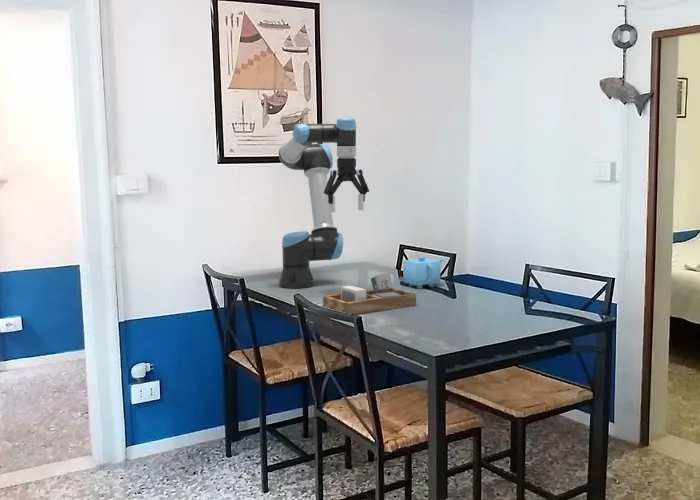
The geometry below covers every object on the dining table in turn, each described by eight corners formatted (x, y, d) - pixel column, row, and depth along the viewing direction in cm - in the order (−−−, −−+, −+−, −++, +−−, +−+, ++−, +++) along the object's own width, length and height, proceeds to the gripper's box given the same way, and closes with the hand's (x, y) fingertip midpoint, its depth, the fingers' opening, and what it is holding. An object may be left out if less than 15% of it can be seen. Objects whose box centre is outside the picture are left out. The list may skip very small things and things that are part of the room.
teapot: (419, 290, 321) (419, 260, 319) (400, 284, 335) (400, 255, 333) (454, 286, 329) (455, 256, 328) (434, 280, 343) (434, 252, 341)
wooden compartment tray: (322, 308, 287) (322, 296, 286) (390, 298, 305) (390, 286, 304) (346, 316, 274) (346, 303, 273) (416, 305, 292) (416, 292, 291)
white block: (340, 307, 288) (340, 286, 286) (350, 306, 290) (350, 285, 289) (355, 312, 279) (355, 290, 278) (366, 310, 282) (366, 289, 281)
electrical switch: (381, 298, 306) (379, 275, 305) (370, 297, 309) (369, 275, 308) (394, 294, 313) (392, 272, 312) (384, 294, 316) (382, 272, 316)
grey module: (370, 304, 295) (370, 293, 294) (393, 302, 299) (393, 291, 298) (381, 309, 287) (381, 297, 286) (405, 306, 291) (405, 295, 290)
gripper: (324, 158, 291) (325, 213, 294) (377, 157, 305) (377, 210, 308) (314, 158, 297) (315, 212, 300) (366, 157, 311) (366, 208, 314)
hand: (346, 211), depth 304 cm, fingers open, 13 cm apart
